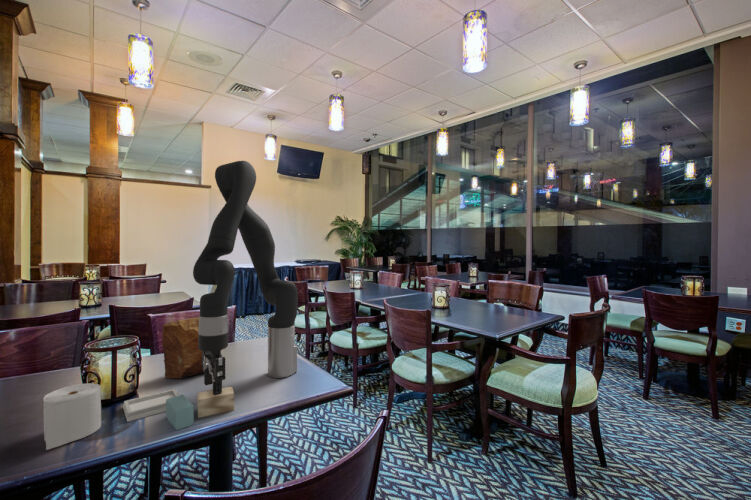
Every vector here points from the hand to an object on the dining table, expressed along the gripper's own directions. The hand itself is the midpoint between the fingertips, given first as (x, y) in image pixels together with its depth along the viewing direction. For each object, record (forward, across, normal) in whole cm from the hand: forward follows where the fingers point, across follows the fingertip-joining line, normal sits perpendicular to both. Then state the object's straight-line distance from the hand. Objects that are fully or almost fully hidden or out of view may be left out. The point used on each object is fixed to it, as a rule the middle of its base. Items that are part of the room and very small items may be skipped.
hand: (212, 389), depth 97 cm
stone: (+6, +33, -2) cm, 33 cm away
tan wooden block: (+6, 0, -1) cm, 6 cm away
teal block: (+6, -1, +8) cm, 10 cm away
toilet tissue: (+7, +9, +29) cm, 31 cm away
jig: (+6, +12, +12) cm, 19 cm away
